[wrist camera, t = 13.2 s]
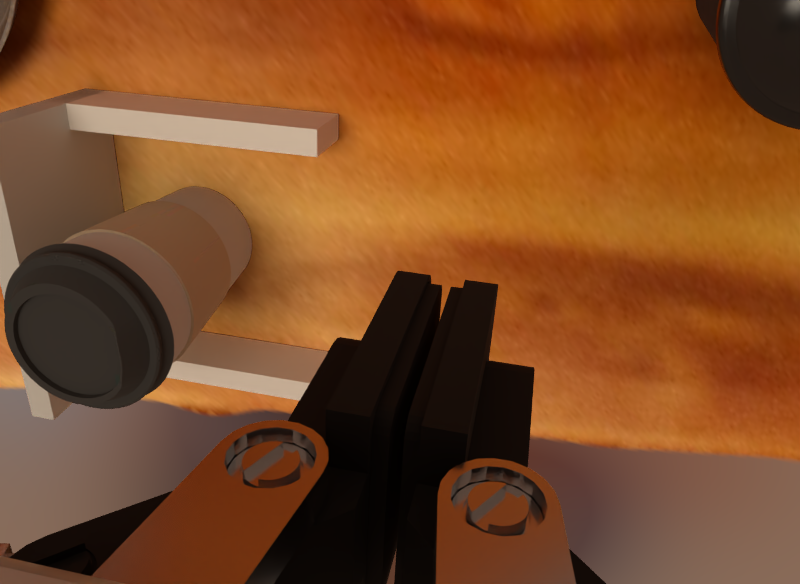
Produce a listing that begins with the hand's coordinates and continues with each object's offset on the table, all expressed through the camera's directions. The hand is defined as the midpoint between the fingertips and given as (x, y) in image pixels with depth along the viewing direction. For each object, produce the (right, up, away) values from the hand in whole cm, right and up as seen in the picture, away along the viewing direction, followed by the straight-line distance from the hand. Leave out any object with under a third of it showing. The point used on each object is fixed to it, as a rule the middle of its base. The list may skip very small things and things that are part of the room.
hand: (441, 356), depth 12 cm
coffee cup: (-14, +5, +34) cm, 37 cm away
